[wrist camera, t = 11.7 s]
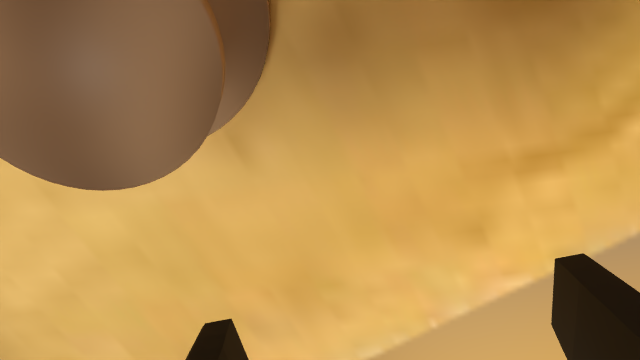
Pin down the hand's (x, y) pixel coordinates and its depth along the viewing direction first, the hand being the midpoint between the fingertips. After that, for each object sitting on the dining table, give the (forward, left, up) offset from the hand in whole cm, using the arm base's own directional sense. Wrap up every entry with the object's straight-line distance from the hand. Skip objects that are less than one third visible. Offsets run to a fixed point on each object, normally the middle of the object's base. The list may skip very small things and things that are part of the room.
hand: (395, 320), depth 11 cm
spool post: (+7, -5, -10) cm, 13 cm away
